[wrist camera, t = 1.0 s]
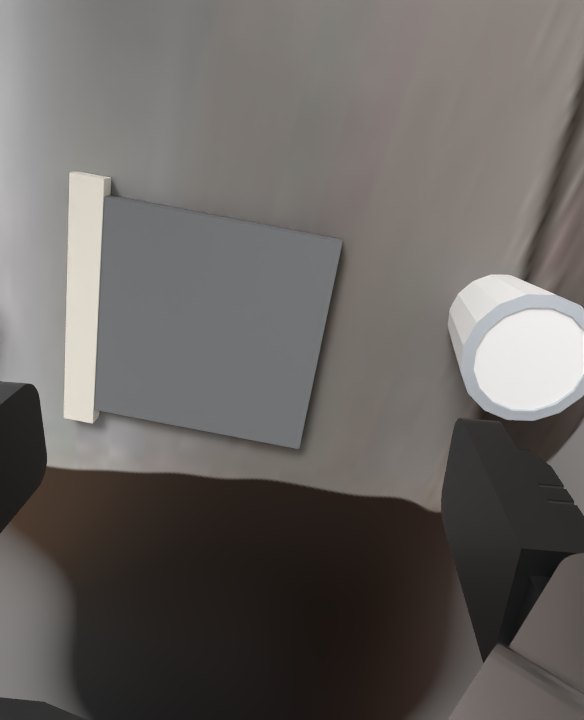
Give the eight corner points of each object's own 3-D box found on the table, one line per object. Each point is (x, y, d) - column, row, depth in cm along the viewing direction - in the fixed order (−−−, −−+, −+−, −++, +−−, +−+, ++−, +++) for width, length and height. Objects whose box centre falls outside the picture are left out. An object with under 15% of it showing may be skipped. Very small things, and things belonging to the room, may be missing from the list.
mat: (70, 410, 39) (63, 417, 38) (77, 171, 33) (69, 172, 32) (297, 454, 39) (296, 462, 38) (345, 222, 33) (346, 225, 32)
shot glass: (456, 252, 33) (485, 280, 26) (570, 276, 33) (627, 310, 26) (423, 358, 35) (443, 407, 29) (529, 380, 36) (572, 434, 29)
